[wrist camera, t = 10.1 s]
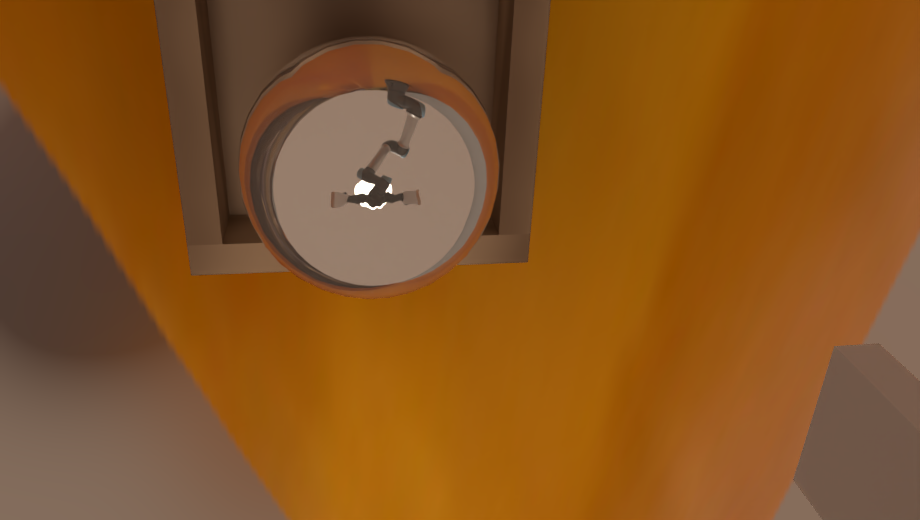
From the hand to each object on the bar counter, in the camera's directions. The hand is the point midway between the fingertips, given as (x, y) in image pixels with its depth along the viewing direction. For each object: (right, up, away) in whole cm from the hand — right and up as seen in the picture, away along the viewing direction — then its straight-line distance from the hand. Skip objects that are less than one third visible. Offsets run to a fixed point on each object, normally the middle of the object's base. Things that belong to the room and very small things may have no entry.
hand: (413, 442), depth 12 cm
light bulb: (-3, +9, +17) cm, 20 cm away
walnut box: (-3, +10, +20) cm, 23 cm away
